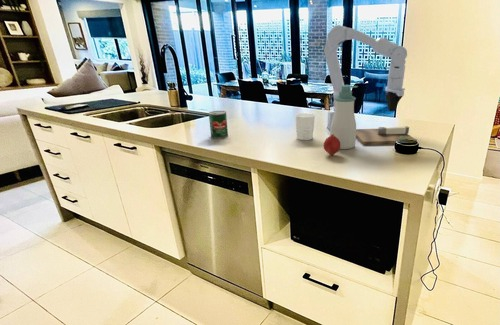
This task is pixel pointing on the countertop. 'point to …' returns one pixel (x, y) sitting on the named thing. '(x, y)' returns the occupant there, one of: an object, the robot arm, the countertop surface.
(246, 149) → the countertop surface
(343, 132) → the soap bottle
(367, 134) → the dial board
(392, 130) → the dial lever
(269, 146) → the countertop surface
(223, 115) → the canned tomato
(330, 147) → the onion
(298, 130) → the white cup
